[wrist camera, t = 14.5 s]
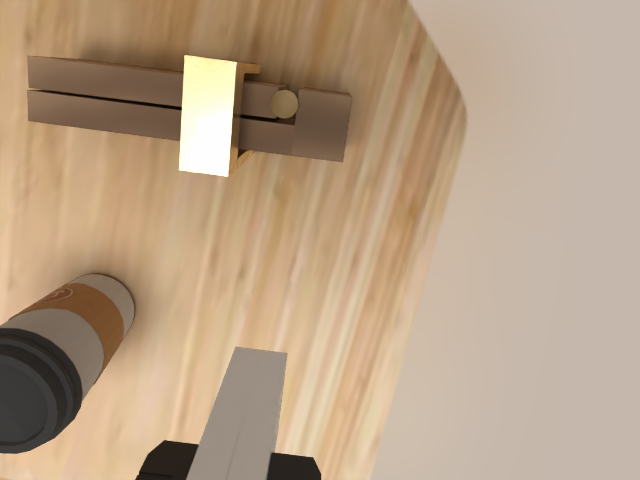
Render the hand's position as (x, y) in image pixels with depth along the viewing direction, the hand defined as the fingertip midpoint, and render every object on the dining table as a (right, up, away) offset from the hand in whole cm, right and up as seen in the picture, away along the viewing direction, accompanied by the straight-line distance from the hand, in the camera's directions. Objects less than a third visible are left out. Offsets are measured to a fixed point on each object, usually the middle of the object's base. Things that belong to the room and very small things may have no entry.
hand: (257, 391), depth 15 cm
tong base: (-7, +15, +26) cm, 31 cm away
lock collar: (-5, +15, +26) cm, 31 cm away
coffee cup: (-18, -1, +32) cm, 37 cm away
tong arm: (-9, +16, +26) cm, 32 cm away
